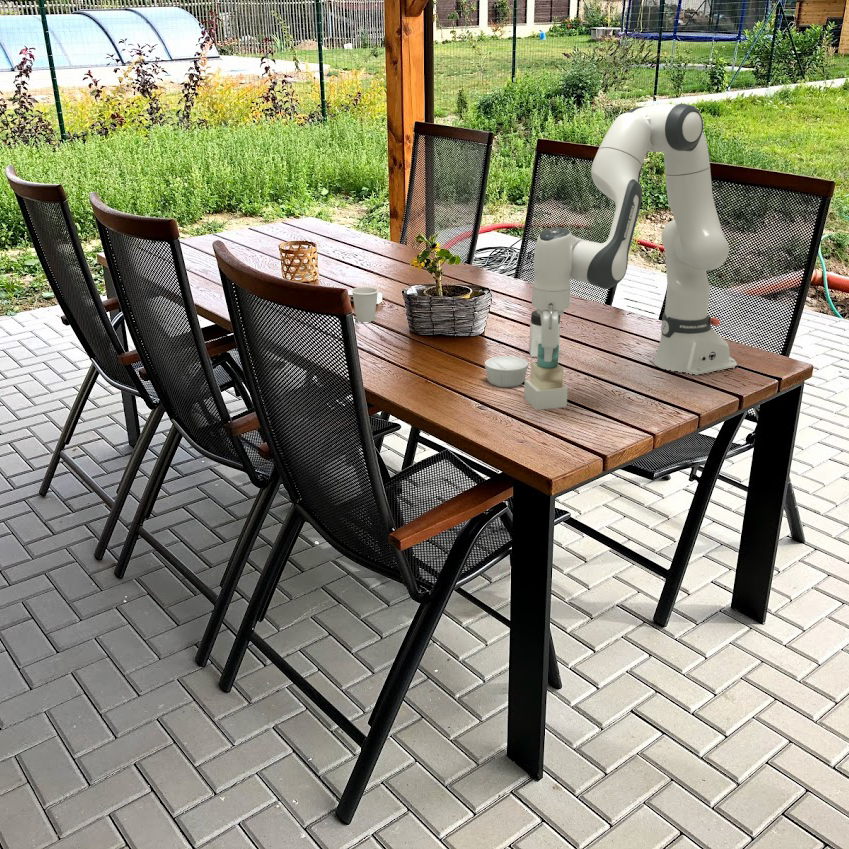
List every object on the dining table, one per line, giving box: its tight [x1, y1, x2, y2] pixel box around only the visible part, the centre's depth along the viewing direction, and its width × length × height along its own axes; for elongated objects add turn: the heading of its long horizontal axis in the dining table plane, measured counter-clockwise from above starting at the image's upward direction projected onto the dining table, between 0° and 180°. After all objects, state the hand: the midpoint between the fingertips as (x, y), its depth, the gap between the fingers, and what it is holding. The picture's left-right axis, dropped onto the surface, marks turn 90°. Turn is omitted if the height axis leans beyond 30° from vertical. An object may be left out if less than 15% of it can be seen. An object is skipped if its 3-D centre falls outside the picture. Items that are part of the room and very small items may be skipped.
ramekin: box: [484, 355, 529, 388], centre depth 241 cm, size 11×11×5 cm
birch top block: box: [529, 361, 564, 390], centre depth 226 cm, size 6×6×5 cm
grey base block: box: [523, 379, 568, 411], centre depth 228 cm, size 8×8×5 cm
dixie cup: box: [351, 286, 379, 322], centre depth 290 cm, size 8×8×10 cm
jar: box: [528, 309, 561, 358], centre depth 260 cm, size 9×8×12 cm
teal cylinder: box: [536, 343, 560, 369], centre depth 224 cm, size 5×5×5 cm
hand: (547, 354), depth 223 cm, fingers open, 8 cm apart
